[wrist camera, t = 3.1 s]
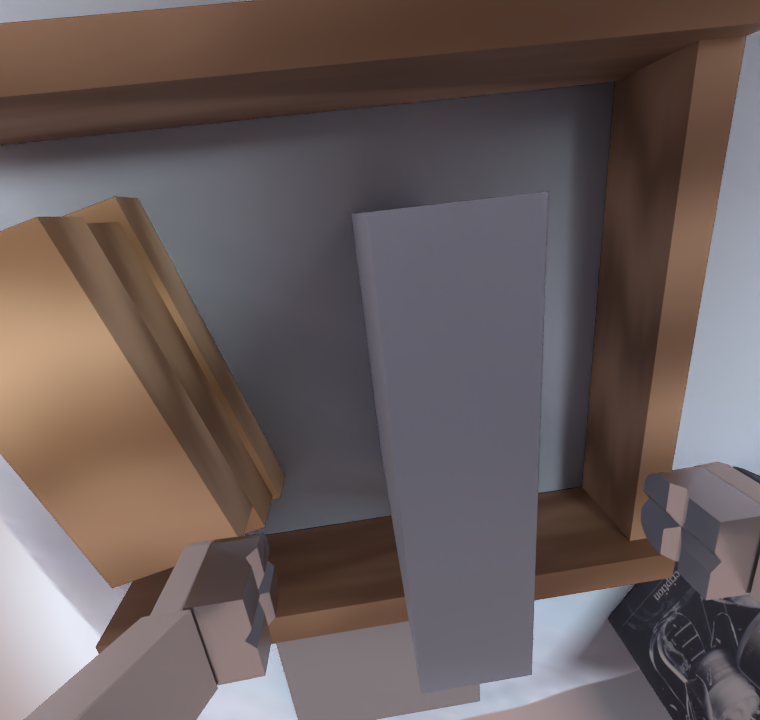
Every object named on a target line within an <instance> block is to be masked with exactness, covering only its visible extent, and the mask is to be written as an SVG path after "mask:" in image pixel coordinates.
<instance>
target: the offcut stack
mask: <svg viewBox="0 0 760 720" xmlns="http://www.w3.org/2000/svg"><path fill="white" fill-rule="evenodd" d="M0 454H1V455H2V456H3V457H4V459H5V460H6V461H7V462H8V463H9V465H10V466H11V467H12V468H13V469H14V471H15V472H16V473H17V474H18V475H19V477H20V478H21V479H22V480H23V481H24V483H25V484H26V485H27V486H28V487H29V489H30V490H31V491H32V492H33V493H34V495H35V496H36V497H37V498H38V499H39V501H40V502H41V503H42V504H43V506H44V507H45V508H46V509H47V510H48V512H49V513H50V514H51V515H52V516H53V518H54V519H55V520H56V521H57V522H58V524H59V525H60V526H61V527H62V528H63V530H64V531H65V532H66V533H67V534H68V536H69V537H70V538H71V539H72V540H73V542H74V543H75V544H76V545H77V546H78V548H79V549H80V550H81V551H82V553H83V554H84V555H85V556H86V557H87V559H88V560H89V561H90V562H91V563H92V565H93V566H94V567H95V568H96V569H97V571H98V572H99V573H100V574H101V575H102V577H103V578H104V579H105V580H106V581H107V583H108V584H109V585H110V586H111V587H112V588H115V587H117V586H120V585H123V584H126V583H129V582H132V581H134V580H137V579H140V578H143V577H146V576H149V575H151V574H154V573H157V572H160V571H163V570H166V569H168V568H171V567H174V566H175V565H176V563H177V561H178V559H179V557H180V555H181V553H182V551H183V549H184V548H185V547H186V546H187V545H189V544H190V543H196V542H204V541H211V540H216V539H223V538H231V537H239V536H244V534H247V533H250V532H253V531H255V530H258V529H261V528H264V527H265V526H266V522H267V518H268V514H269V510H270V505H271V501H272V500H274V499H277V498H280V497H281V492H282V488H283V483H284V478H285V473H284V472H283V470H282V468H281V466H280V464H279V462H278V460H277V458H276V457H275V455H274V453H273V451H272V449H271V447H270V445H269V443H268V442H267V440H266V438H265V436H264V434H263V432H262V430H261V428H260V427H259V425H258V423H257V421H256V419H255V417H254V415H253V413H252V411H251V410H250V408H249V406H248V404H247V402H246V400H245V398H244V396H243V395H242V393H241V391H240V389H239V387H238V385H237V383H236V381H235V380H234V378H233V376H232V374H231V372H230V370H229V368H228V366H227V365H226V363H225V361H224V359H223V357H222V355H221V353H220V351H219V349H218V348H217V346H216V344H215V342H214V340H213V338H212V336H211V334H210V333H209V331H208V329H207V327H206V325H205V323H204V321H203V319H202V318H201V316H200V314H199V312H198V310H197V308H196V306H195V304H194V303H193V301H192V299H191V297H190V295H189V293H188V291H187V289H186V287H185V286H184V284H183V282H182V280H181V278H180V276H179V274H178V272H177V271H176V269H175V267H174V265H173V263H172V261H171V259H170V257H169V256H168V254H167V252H166V250H165V248H164V246H163V244H162V242H161V241H160V239H159V237H158V235H157V233H156V231H155V229H154V227H153V225H152V224H151V222H150V220H149V218H148V216H147V214H146V212H145V210H144V209H143V207H142V205H141V203H140V201H139V199H138V198H127V197H115V196H114V197H112V198H109V199H107V200H104V201H101V202H99V203H96V204H94V205H91V206H89V207H86V208H83V209H81V210H78V211H76V212H73V213H70V214H68V215H65V216H63V217H36V218H33V219H31V220H28V221H25V222H23V223H20V224H18V225H15V226H13V227H10V228H7V229H5V230H2V231H0Z"/></svg>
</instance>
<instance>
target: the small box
mask: <svg viewBox="0 0 760 720" xmlns="http://www.w3.org/2000/svg"><path fill="white" fill-rule="evenodd" d="M735 469H736V470H738V471H739V472H741V473H743V474H744V475H746V476H748V477H749V478H751V479H753V480H754V481H756V482H758V483H759V484H760V476H759V475H756V474H754V473H752V472H749V471H747V470H745V469H742V468H738V467H737V468H735ZM608 619H609V621H610V623H611V624H612V626H613V627H614V629H615V630H616V632H617V634H618V635H619V637H620V638H621V640H622V641H623V643H624V644H625V646H626V647H627V649H628V651H629V652H630V654H631V655H632V657H633V658H634V660H635V661H636V663H637V664H638V666H639V667H640V669H641V670H642V672H643V674H644V675H645V677H646V678H647V680H648V682H649V683H650V685H651V686H652V688H653V689H654V691H655V692H656V694H657V696H658V697H659V699H660V700H661V702H662V703H663V705H664V706H665V707H666V709H667V711H668V713H669V714H670V716H671V717H672V719H673V720H760V602H758V601H756V600H755V599H753V598H751V597H750V594H748V595H740V596H733V597H726V598H719V599H712V600H705V599H704V598H703V597H702V596H701V595H700V594H699V593H698V592H697V591H696V590H695V589H694V588H693V587H692V586H691V585H690V584H689V583H688V582H687V581H686V580H685V579H684V578H683V577H682V576H681V575H680V574H679V573H678V572H677V565H676V561H675V565H674V570H673V576H672V578H666V579H660V580H654V581H648V582H642V583H637V584H636V586H635V587H634V588H633V589H632V590H631V592H630V593H629V594H628V595H627V596H626V597H625V599H624V600H623V601H622V602H621V603H620V605H619V606H618V607H617V608H616V609H615V610H614V612H613V613H612V614H611V615H610V617H609V618H608Z"/></svg>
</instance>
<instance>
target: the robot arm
mask: <svg viewBox="0 0 760 720" xmlns="http://www.w3.org/2000/svg"><path fill="white" fill-rule="evenodd" d="M643 491H644V492H645V493H646V495H647V496H648V497H649V499H648V500H647V501H646V503H645V504H644V505H643V506H642V508H641V520H640V521H641V524H642V527H643V531H644V534H645V536H646V537H647V539H648V540H649V542H650V543H651V545H652V546H653V547H654V548H655V549H656V550H657V551H658V552H659V553H660V554H661V555H663V556H665V557H668V558H670V559H672V560H674V561H676V565H677V572H678V573H679V574H680V575H681V576H682V577H683V578H684V579H685V580H686V581H687V582H688V583H689V584H690V585H691V586H692V587H693V588H694V589H695V590H696V591H697V592H698V593H699V594H700V595H701V596H702V597H703V598H704V599H705V600H712V599H719V598H726V597H733V596H740V595H748V594H750V597H751V598H753V599H755V600H756V601H758V602H760V484H759V483H758V482H756V481H754V480H753V479H751V478H749V477H748V476H746V475H744V474H743V473H741V472H739V471H738V470H736V469H735V468H733V467H731V466H730V465H728V464H724V463H720V462H715V463H709V464H704V465H698V466H694V467H690V468H683V469H677V470H671V471H665V472H659V473H652V474H649V475H648V476H647V478H646V479H645V482H644V489H643ZM269 551H270V547H269V543H268V540H267V536H266V535H264V534H263V533H262V534H254V535H246V536H239V537H231V538H223V539H216V540H211V541H204V542H196V543H190V544H189V545H187V546H186V547H185V548H184V549H183V551H182V553H181V555H180V557H179V559H178V561H177V563H176V565H175V567H174V569H173V571H172V573H171V575H170V577H169V579H168V581H167V583H166V585H165V587H164V589H163V591H162V593H161V595H160V597H159V599H158V601H157V603H156V605H155V607H154V609H153V611H152V613H151V615H150V616H146V617H141V618H140V619H139V620H138V621H137V622H136V623H134V624H133V625H132V626H131V627H130V628H129V629H127V630H126V631H125V632H124V633H123V634H122V635H121V636H119V637H118V638H117V639H116V640H115V641H114V642H112V643H111V644H110V645H109V646H108V647H107V648H106V649H104V650H103V651H102V652H101V653H100V654H99V655H98V656H96V657H95V658H94V659H93V660H92V661H91V662H90V663H88V664H87V665H86V666H85V667H84V668H83V669H81V670H80V671H79V672H78V673H77V674H76V675H74V676H73V677H72V678H71V679H70V680H69V681H68V682H66V683H65V684H64V685H63V686H62V687H61V688H60V689H58V690H57V691H56V692H55V693H54V694H53V695H51V696H50V697H49V698H48V699H47V700H46V701H45V702H43V703H42V704H41V705H40V706H39V707H38V708H36V709H35V710H34V711H33V712H32V713H31V714H30V715H28V716H27V717H26V718H25V719H24V720H196V719H197V718H198V716H199V715H200V713H201V712H202V710H203V709H204V708H205V706H206V705H207V703H208V702H209V700H210V699H211V697H212V696H213V695H214V693H215V692H216V690H217V689H218V688H217V685H221V684H226V683H231V682H236V681H241V680H246V679H251V678H256V677H261V676H265V674H266V668H267V663H268V657H269V652H270V646H271V640H272V639H271V635H270V631H269V627H268V626H269V625H270V623H271V622H272V621H273V620H274V618H275V617H276V611H277V604H278V583H277V575H276V571H275V566H274V565H273V564H271V563H270V562H269V561H268V556H269Z"/></svg>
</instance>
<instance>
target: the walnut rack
mask: <svg viewBox="0 0 760 720" xmlns="http://www.w3.org/2000/svg"><path fill="white" fill-rule="evenodd" d="M758 30H760V0H256V1H245V2H233V3H222V4H211V5H200V6H189V7H177V8H166V9H155V10H144V11H133V12H121V13H110V14H99V15H88V16H77V17H66V18H54V19H43V20H32V21H21V22H10V23H0V145H7V144H16V143H26V142H36V141H45V140H55V139H65V138H74V137H84V136H94V135H103V134H113V133H123V132H132V131H142V130H152V129H161V128H171V127H181V126H191V125H200V124H210V123H220V122H229V121H239V120H249V119H258V118H268V117H278V116H287V115H297V114H307V113H316V112H326V111H336V110H345V109H355V108H365V107H374V106H384V105H394V104H403V103H413V102H423V101H433V100H442V99H452V98H462V97H471V96H481V95H491V94H500V93H510V92H520V91H529V90H539V89H549V88H558V87H568V86H578V85H587V84H597V83H607V82H615V87H614V99H613V111H612V124H611V136H610V149H609V161H608V173H607V186H606V198H605V210H604V223H603V235H602V248H601V260H600V272H599V285H598V297H597V309H596V322H595V334H594V346H593V359H592V371H591V384H590V396H589V408H588V421H587V433H586V445H585V458H584V470H583V483H582V487H579V488H572V489H566V490H559V491H553V492H546V493H539V494H538V505H537V534H536V563H535V592H534V600H539V599H545V598H551V597H558V596H564V595H570V594H576V593H582V592H588V591H594V590H600V589H606V588H612V587H618V586H624V585H630V584H636V583H642V582H648V581H654V580H660V579H666V578H672V576H673V570H674V565H675V561H674V560H672V559H670V558H668V557H665V556H663V555H661V554H660V553H659V552H658V551H657V550H656V549H655V548H654V547H653V546H652V545H651V543H650V542H649V540H648V539H647V537H646V536H645V534H644V531H643V527H642V524H641V521H640V520H641V508H642V506H643V505H644V504H645V503H646V501H647V500H648V499H649V497H648V496H647V495H646V493H645V492H644V491H643V489H644V482H645V479H646V478H647V476H648V475H649V474H652V473H659V472H665V471H671V470H672V465H673V460H674V454H675V448H676V442H677V436H678V430H679V425H680V419H681V413H682V407H683V401H684V396H685V390H686V384H687V378H688V372H689V366H690V361H691V355H692V349H693V343H694V337H695V331H696V326H697V320H698V314H699V308H700V302H701V297H702V291H703V285H704V279H705V273H706V267H707V262H708V256H709V250H710V244H711V238H712V232H713V227H714V221H715V215H716V209H717V203H718V198H719V192H720V186H721V180H722V174H723V168H724V163H725V157H726V151H727V145H728V139H729V134H730V128H731V122H732V116H733V110H734V104H735V99H736V93H737V87H738V81H739V75H740V69H741V64H742V58H743V52H744V46H745V40H746V36H747V35H749V34H752V33H754V32H756V31H758ZM266 536H267V540H268V543H269V547H270V551H269V556H268V561H269V562H270V563H271V564H273V565H274V566H275V571H276V575H277V583H278V604H277V611H276V617H275V618H274V620H273V621H272V622H271V623H270V625H269V626H268V627H269V631H270V635H271V639H272V640H271V644H274V643H280V642H286V641H292V640H298V639H304V638H310V637H316V636H322V635H328V634H334V633H340V632H346V631H352V630H358V629H364V628H370V627H376V626H382V625H388V624H394V623H400V622H407V621H409V618H408V612H407V606H406V600H405V594H404V588H403V582H402V576H401V570H400V564H399V558H398V552H397V546H396V540H395V534H394V528H393V522H392V516H389V517H382V518H376V519H369V520H363V521H356V522H349V523H343V524H336V525H330V526H323V527H317V528H310V529H304V530H297V531H290V532H284V533H277V534H271V535H266ZM174 567H175V566H174ZM174 567H171V568H168V569H166V570H163V571H160V572H157V573H154V574H151V575H149V576H146V577H143V578H140V579H137V580H134V581H133V582H132V584H131V586H130V587H129V589H128V591H127V593H126V594H125V596H124V598H123V600H122V601H121V603H120V605H119V607H118V609H117V610H116V612H115V614H114V616H113V617H112V619H111V621H110V623H109V624H108V626H107V628H106V630H105V631H104V633H103V635H102V637H101V638H100V641H99V642H98V644H97V646H96V649H97V651H98V653H99V654H100V653H101V652H102V651H103V650H104V649H106V648H107V647H108V646H109V645H110V644H111V643H112V642H114V641H115V640H116V639H117V638H118V637H119V636H121V635H122V634H123V633H124V632H125V631H126V630H127V629H129V628H130V627H131V626H132V625H133V624H134V623H136V622H137V621H138V620H139V619H140V618H141V617H146V616H150V615H151V613H152V611H153V609H154V607H155V605H156V603H157V601H158V599H159V597H160V595H161V593H162V591H163V589H164V587H165V585H166V583H167V581H168V579H169V577H170V575H171V573H172V571H173V569H174Z"/></svg>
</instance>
